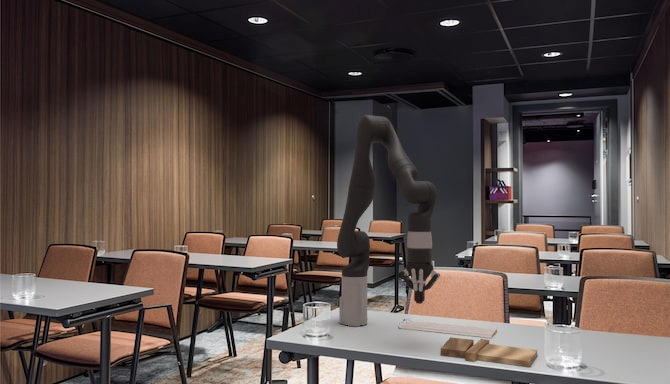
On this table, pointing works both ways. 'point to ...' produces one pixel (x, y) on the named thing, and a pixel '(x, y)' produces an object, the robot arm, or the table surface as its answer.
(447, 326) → the baseboard molding
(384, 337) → the table surface
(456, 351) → the plank
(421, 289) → the robot arm
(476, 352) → the floor edge
